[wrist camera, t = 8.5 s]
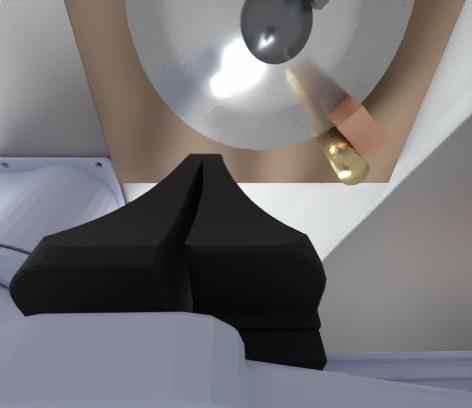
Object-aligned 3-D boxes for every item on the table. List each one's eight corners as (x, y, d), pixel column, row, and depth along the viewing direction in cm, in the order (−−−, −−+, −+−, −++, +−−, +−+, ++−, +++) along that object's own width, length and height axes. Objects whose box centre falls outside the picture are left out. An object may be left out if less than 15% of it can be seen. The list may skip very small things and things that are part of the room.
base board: (124, 172, 22) (118, 182, 21) (-23, -366, 9) (-61, -420, 8) (379, 172, 22) (388, 182, 21) (577, -332, 10) (625, -378, 9)
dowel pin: (314, 146, 19) (336, 185, 15) (318, 124, 18) (343, 159, 14) (336, 146, 19) (364, 185, 15) (342, 124, 18) (373, 159, 14)
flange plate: (78, 25, 14) (35, 33, 11) (323, -456, 8) (393, -781, 4) (278, 194, 21) (287, 229, 18) (498, 20, 15) (573, 27, 11)
